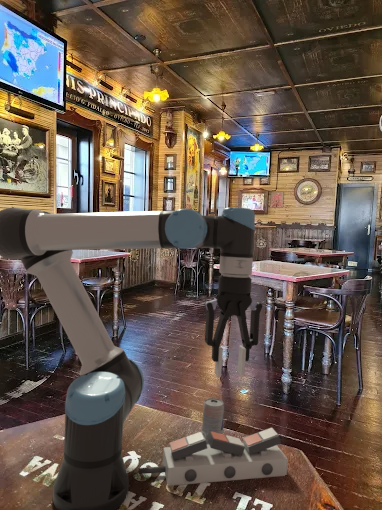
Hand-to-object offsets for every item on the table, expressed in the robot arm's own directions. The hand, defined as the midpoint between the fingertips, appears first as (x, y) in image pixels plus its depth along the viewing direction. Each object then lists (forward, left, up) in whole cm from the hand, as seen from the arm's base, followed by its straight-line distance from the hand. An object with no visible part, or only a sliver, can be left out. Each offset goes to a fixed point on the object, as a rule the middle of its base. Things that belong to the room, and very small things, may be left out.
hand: (229, 374), depth 87 cm
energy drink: (0, +10, -23) cm, 25 cm away
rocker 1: (-9, 0, -16) cm, 19 cm away
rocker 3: (+9, 0, -17) cm, 20 cm away
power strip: (-3, 0, -23) cm, 23 cm away
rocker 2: (0, 0, -16) cm, 16 cm away
